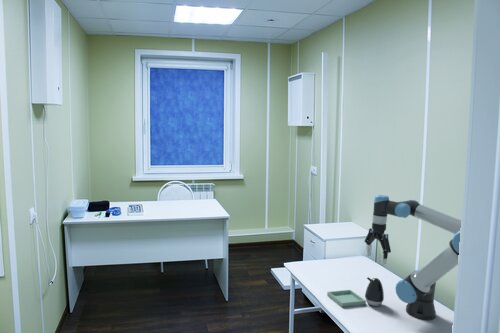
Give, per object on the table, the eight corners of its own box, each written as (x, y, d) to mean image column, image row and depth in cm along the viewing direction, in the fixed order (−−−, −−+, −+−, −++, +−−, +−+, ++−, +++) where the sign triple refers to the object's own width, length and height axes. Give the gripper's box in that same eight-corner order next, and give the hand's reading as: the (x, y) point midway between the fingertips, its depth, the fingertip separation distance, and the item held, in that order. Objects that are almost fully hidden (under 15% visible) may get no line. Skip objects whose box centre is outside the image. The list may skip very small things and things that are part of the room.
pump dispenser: (368, 298, 237) (371, 273, 235) (385, 304, 230) (388, 278, 228) (360, 303, 229) (363, 277, 227) (378, 309, 222) (381, 283, 221)
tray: (365, 304, 228) (365, 300, 228) (341, 307, 222) (342, 303, 222) (349, 293, 242) (350, 289, 242) (327, 295, 237) (327, 291, 237)
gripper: (400, 228, 214) (396, 267, 216) (371, 217, 237) (368, 252, 240) (388, 228, 212) (384, 267, 214) (360, 217, 235) (357, 253, 237)
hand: (375, 259), depth 227 cm, fingers open, 13 cm apart
